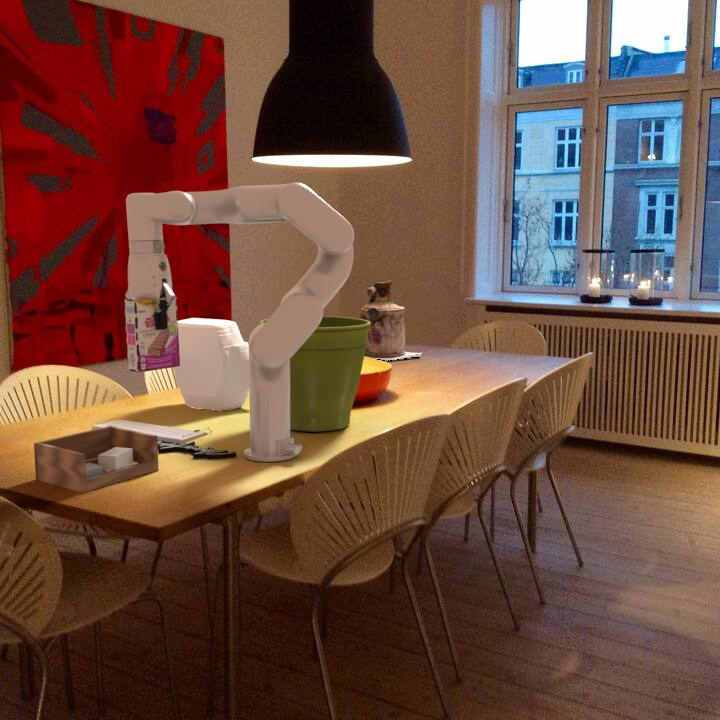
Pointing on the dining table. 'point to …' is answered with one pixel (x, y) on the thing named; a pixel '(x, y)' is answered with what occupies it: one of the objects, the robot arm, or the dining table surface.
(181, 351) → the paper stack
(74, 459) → the wooden divided box
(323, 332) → the plant pot
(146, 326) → the candy bar box
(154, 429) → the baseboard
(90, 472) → the offcut
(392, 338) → the cookie jar
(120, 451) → the offcut
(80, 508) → the dining table surface
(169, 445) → the nameplate
